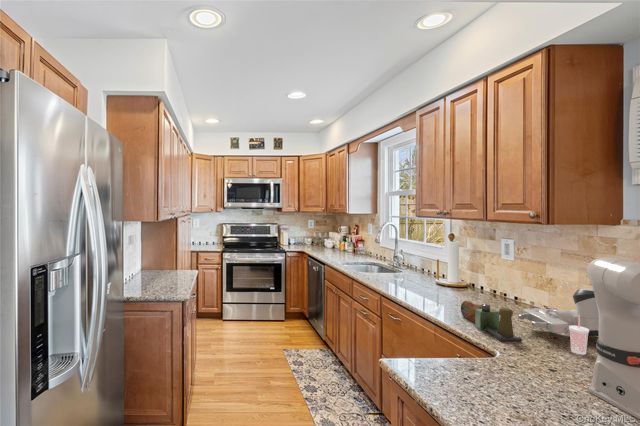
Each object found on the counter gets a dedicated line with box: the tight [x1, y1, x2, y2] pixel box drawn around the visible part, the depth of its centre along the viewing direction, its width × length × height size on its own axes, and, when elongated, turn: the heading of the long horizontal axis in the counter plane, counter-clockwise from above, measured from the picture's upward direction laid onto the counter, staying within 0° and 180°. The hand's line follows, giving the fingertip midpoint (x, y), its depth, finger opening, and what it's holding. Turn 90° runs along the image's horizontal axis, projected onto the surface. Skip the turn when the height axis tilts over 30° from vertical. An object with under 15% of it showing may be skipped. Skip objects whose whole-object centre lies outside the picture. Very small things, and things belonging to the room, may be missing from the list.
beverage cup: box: [569, 315, 589, 356], centre depth 130 cm, size 6×6×14 cm
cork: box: [498, 307, 515, 337], centre depth 145 cm, size 6×6×11 cm
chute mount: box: [474, 303, 523, 343], centre depth 148 cm, size 18×10×10 cm, turn 1°
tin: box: [460, 300, 481, 323], centre depth 165 cm, size 15×3×8 cm, turn 14°
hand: (525, 320), depth 146 cm, fingers open, 8 cm apart
